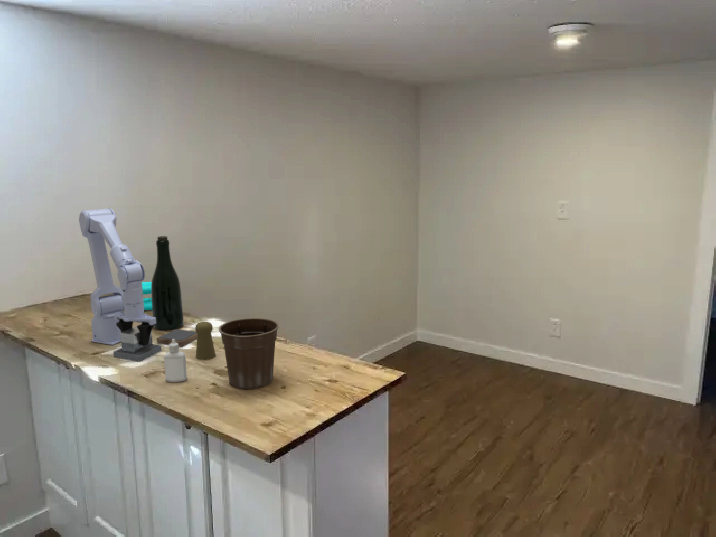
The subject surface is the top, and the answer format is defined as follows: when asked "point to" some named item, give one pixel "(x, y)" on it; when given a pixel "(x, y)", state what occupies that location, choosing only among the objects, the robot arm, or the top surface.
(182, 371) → the eye dropper bottle
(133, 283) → the robot arm
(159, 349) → the stand
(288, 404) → the top surface
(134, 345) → the block
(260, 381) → the plant pot
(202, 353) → the cork
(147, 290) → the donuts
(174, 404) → the top surface
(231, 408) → the top surface
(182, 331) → the stand
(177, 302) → the dark green wine bottle
